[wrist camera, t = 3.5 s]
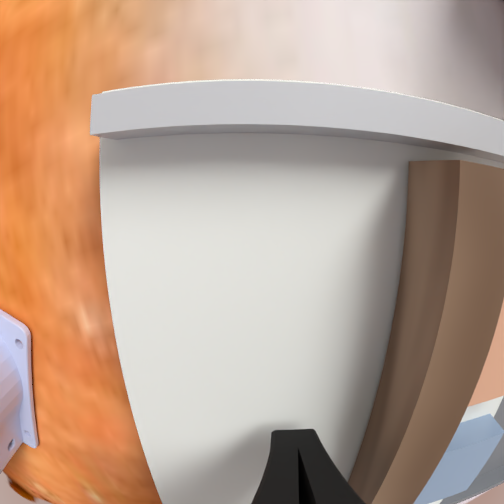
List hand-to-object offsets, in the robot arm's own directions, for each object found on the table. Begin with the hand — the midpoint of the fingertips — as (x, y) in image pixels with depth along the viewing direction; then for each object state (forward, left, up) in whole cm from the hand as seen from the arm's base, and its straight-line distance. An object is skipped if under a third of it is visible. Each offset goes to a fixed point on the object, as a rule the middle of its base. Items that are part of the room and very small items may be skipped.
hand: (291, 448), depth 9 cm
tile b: (-1, -8, -1) cm, 8 cm away
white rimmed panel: (+1, -2, -3) cm, 4 cm away
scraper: (+1, -4, -1) cm, 4 cm away
